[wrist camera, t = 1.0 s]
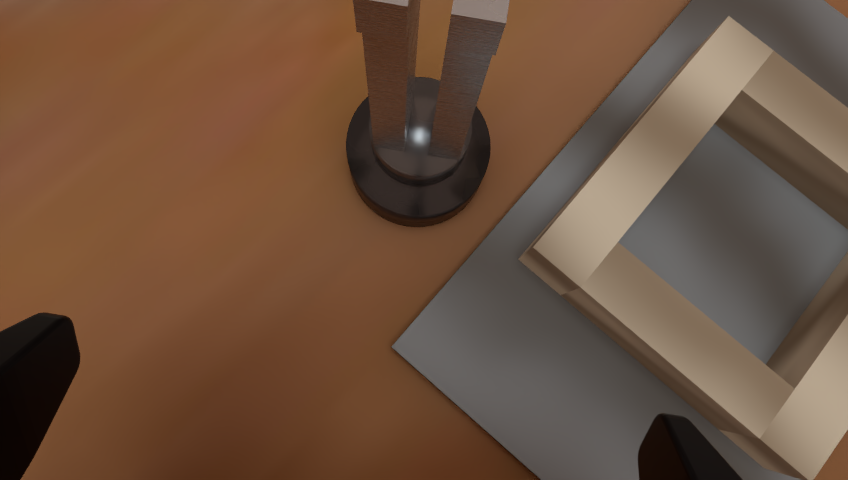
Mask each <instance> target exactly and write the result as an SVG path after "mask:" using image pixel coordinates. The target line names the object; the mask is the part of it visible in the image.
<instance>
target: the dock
mask: <svg viewBox="0 0 848 480" xmlns="http://www.w3.org/2000/svg"><path fill="white" fill-rule="evenodd" d="M392 348H393V349H394V350H395V351H397V352H398V353H399V354H400V355H401V356H402V357H403V358H404V359H406V360H407V361H408V362H409V363H410V364H411V365H412V366H413V367H415V368H416V369H417V370H418V371H419V372H420V373H421V374H422V375H424V376H425V377H426V378H427V379H428V380H429V381H430V382H431V383H433V384H434V385H435V386H436V387H437V388H438V389H439V390H440V391H442V392H443V393H444V394H445V395H446V396H447V397H448V398H449V399H451V400H452V401H453V402H454V403H455V404H456V405H457V406H458V407H460V408H461V409H462V410H463V411H464V412H465V413H466V414H467V415H469V416H470V417H471V418H472V419H473V420H474V421H475V422H476V423H478V424H479V425H480V426H481V427H482V428H483V429H484V430H485V431H487V432H488V433H489V434H490V435H491V436H492V437H493V438H495V439H496V440H497V441H498V442H499V443H500V444H501V445H502V446H504V447H505V448H506V449H507V450H508V451H509V452H510V453H511V454H513V455H514V456H515V457H516V458H517V459H518V460H519V461H520V462H522V463H523V464H524V465H525V466H526V467H527V468H528V469H529V470H531V471H532V472H533V473H534V474H535V475H536V476H537V477H538V478H540V479H541V480H639V471H638V451H639V447H640V445H641V443H642V441H643V439H644V437H645V435H646V433H647V431H648V429H649V427H650V425H651V424H652V422H653V420H654V418H655V417H656V415H658V414H659V413H668V414H674V415H680V416H684V417H686V418H688V419H689V420H690V421H691V422H692V423H693V424H694V425H695V426H696V427H697V429H698V430H699V431H700V432H701V433H702V434H703V435H704V436H705V438H706V439H707V440H708V441H709V442H710V443H711V444H712V445H713V446H714V448H715V449H716V450H717V451H718V452H719V453H720V454H721V455H722V456H723V458H724V459H725V460H726V461H727V462H728V463H729V464H730V465H731V466H732V468H733V469H734V470H735V471H736V472H737V473H738V474H739V475H740V477H741V478H742V479H743V480H814V478H815V477H816V475H817V474H818V472H819V471H820V469H821V468H822V466H823V465H824V463H825V462H826V461H827V459H828V458H829V456H830V455H831V453H832V452H833V450H834V449H835V447H836V446H837V444H838V443H839V441H840V440H841V438H842V437H843V436H844V434H845V433H846V431H847V430H848V18H846V17H845V16H844V15H842V14H841V13H840V12H838V11H837V10H836V9H834V8H833V7H832V6H830V5H829V4H828V3H826V2H825V1H824V0H692V1H691V2H690V3H689V4H688V5H687V6H686V7H685V9H684V10H683V11H682V12H681V13H680V14H679V16H678V17H677V18H676V19H675V20H674V21H673V22H672V24H671V25H670V26H669V27H668V28H667V29H666V31H665V32H664V33H663V34H662V35H661V36H660V37H659V39H658V40H657V41H656V42H655V43H654V44H653V46H652V47H651V48H650V49H649V50H648V51H647V52H646V54H645V55H644V56H643V57H642V58H641V59H640V61H639V62H638V63H637V64H636V65H635V66H634V67H633V69H632V70H631V71H630V72H629V73H628V74H627V76H626V77H625V78H624V79H623V80H622V81H621V82H620V84H619V85H618V86H617V87H616V88H615V89H614V91H613V92H612V93H611V94H610V95H609V96H608V97H607V99H606V100H605V101H604V102H603V103H602V104H601V106H600V107H599V108H598V109H597V110H596V111H595V112H594V114H593V115H592V116H591V117H590V118H589V119H588V121H587V122H586V123H585V124H584V125H583V126H582V127H581V129H580V130H579V131H578V132H577V133H576V134H575V136H574V137H573V138H572V139H571V140H570V141H569V142H568V144H567V145H566V146H565V147H564V148H563V149H562V151H561V152H560V153H559V154H558V155H557V156H556V157H555V159H554V160H553V161H552V162H551V163H550V164H549V166H548V167H547V168H546V169H545V170H544V171H543V173H542V174H541V175H540V176H539V177H538V178H537V179H536V181H535V182H534V183H533V184H532V185H531V186H530V188H529V189H528V190H527V191H526V192H525V193H524V194H523V196H522V197H521V198H520V199H519V200H518V201H517V203H516V204H515V205H514V206H513V207H512V208H511V209H510V211H509V212H508V213H507V214H506V215H505V216H504V218H503V219H502V220H501V221H500V222H499V223H498V224H497V226H496V227H495V228H494V229H493V230H492V231H491V233H490V234H489V235H488V236H487V237H486V238H485V239H484V241H483V242H482V243H481V244H480V245H479V246H478V248H477V249H476V250H475V251H474V252H473V253H472V254H471V256H470V257H469V258H468V259H467V260H466V261H465V263H464V264H463V265H462V266H461V267H460V268H459V269H458V271H457V272H456V273H455V274H454V275H453V276H452V278H451V279H450V280H449V281H448V282H447V283H446V284H445V286H444V287H443V288H442V289H441V290H440V291H439V293H438V294H437V295H436V296H435V297H434V298H433V299H432V301H431V302H430V303H429V304H428V305H427V306H426V308H425V309H424V310H423V311H422V312H421V313H420V314H419V316H418V317H417V318H416V319H415V320H414V321H413V323H412V324H411V325H410V326H409V327H408V328H407V329H406V331H405V332H404V333H403V334H402V335H401V336H400V338H399V339H398V340H397V341H396V342H395V343H394V344H393V346H392Z"/></svg>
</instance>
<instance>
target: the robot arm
mask: <svg viewBox="0 0 848 480" xmlns="http://www.w3.org/2000/svg"><path fill="white" fill-rule="evenodd" d="M79 364H80V352H79V347H78V343H77V339H76V334H75V330H74V326H73V322H72V320H71V319H70V318H69V317H67V316H64V315H57V314H51V313H38V314H36V315H33V316H31V317H29V318H27V319H25V320H23V321H21V322H19V323H17V324H15V325H13V326H11V327H9V328H7V329H5V330H3V331H0V480H20V479H21V478H22V476H23V474H24V473H25V471H26V469H27V468H28V466H29V465H30V463H31V461H32V459H33V458H34V456H35V454H36V452H37V450H38V448H39V446H40V444H41V442H42V440H43V438H44V436H45V434H46V432H47V430H48V428H49V426H50V424H51V422H52V420H53V418H54V416H55V414H56V412H57V410H58V408H59V406H60V404H61V402H62V400H63V398H64V396H65V394H66V392H67V390H68V388H69V386H70V384H71V382H72V380H73V378H74V377H75V375H76V372H77V370H78V367H79ZM638 471H639V480H743V479H742V478H741V477H740V475H739V474H738V473H737V472H736V471H735V470H734V469H733V468H732V466H731V465H730V464H729V463H728V462H727V461H726V460H725V459H724V458H723V456H722V455H721V454H720V453H719V452H718V451H717V450H716V449H715V448H714V446H713V445H712V444H711V443H710V442H709V441H708V440H707V439H706V438H705V436H704V435H703V434H702V433H701V432H700V431H699V430H698V429H697V427H696V426H695V425H694V424H693V423H692V422H691V421H690V420H689V419H688V418H686V417H684V416H680V415H674V414H668V413H659V414H658V415H656V417H655V418H654V420H653V422H652V424H651V425H650V427H649V429H648V431H647V433H646V435H645V437H644V439H643V441H642V443H641V445H640V447H639V451H638Z"/></svg>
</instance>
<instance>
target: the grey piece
mask: <svg viewBox="0 0 848 480" xmlns="http://www.w3.org/2000/svg"><path fill="white" fill-rule="evenodd" d="M353 5H354V14H355V22H356V31H357V32H360V33H362V37H363V46H364V56H365V66H366V76H367V86H368V97H367V98H366V99H365V100H364V101H363V102H362V103H361V104H360V106H359V107H358V108H357V110H356V112H355V113H354V115H353V117H352V120H351V122H350V125H349V128H348V132H347V139H346V152H347V158H348V163H349V167H350V171H351V175H352V179H353V182H354V185H355V187H356V190H357V192H358V193H359V195H360V197H361V198H362V200H363V201H364V202H365V203H366V204H367V206H368V207H369V208H371V209H372V210H373V211H374V212H375V213H377V214H378V215H379V216H381V217H382V218H384V219H386V220H388V221H391V222H393V223H396V224H399V225H404V226H411V227H425V226H431V225H435V224H438V223H441V222H444V221H446V220H448V219H450V218H452V217H453V216H455V215H456V214H458V213H459V212H460V211H461V210H463V209H464V208H465V207H466V205H467V204H468V203H469V202H470V201H471V199H472V198H473V196H474V195H475V193H476V191H477V189H478V187H479V185H480V183H481V181H482V179H483V177H484V175H485V172H486V169H487V166H488V163H489V158H490V137H489V132H488V128H487V125H486V122H485V120H484V118H483V116H482V114H481V112H480V111H479V109H478V108H477V106H476V104H477V101H478V98H479V95H480V92H481V89H482V85H483V82H484V79H485V76H486V73H487V70H488V67H489V64H490V60H491V57H492V55H496V52H497V49H498V46H499V43H500V40H501V37H502V34H503V31H504V28H505V25H506V20H507V13H508V6H509V0H454V1H453V7H452V13H451V19H450V25H449V31H448V37H447V43H446V49H445V56H444V62H443V68H442V74H441V80H440V81H439V80H436V79H432V78H425V77H415V69H416V55H417V41H418V27H419V13H420V0H353Z"/></svg>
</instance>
